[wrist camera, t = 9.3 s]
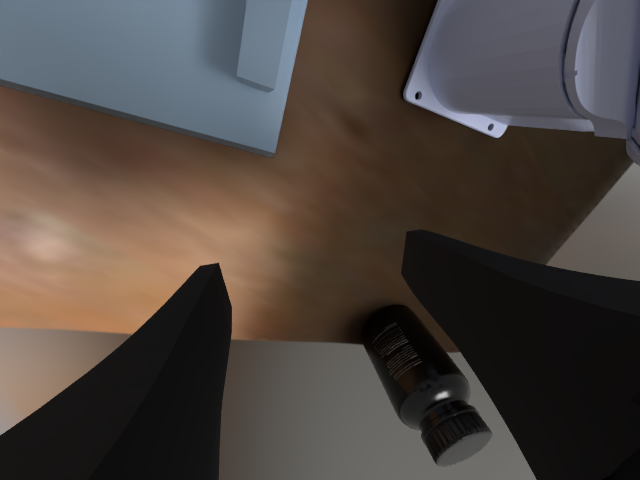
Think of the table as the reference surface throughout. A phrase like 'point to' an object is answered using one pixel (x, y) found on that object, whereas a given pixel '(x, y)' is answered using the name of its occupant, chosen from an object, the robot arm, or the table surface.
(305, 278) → the table surface
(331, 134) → the table surface
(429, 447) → the supplement bottle
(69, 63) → the lid
